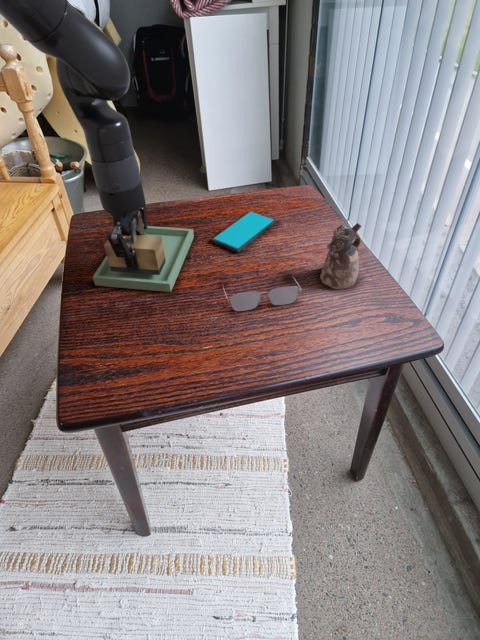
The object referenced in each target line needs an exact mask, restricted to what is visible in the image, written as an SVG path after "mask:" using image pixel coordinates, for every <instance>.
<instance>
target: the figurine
mask: <svg viewBox="0 0 480 640" xmlns="http://www.w3.org/2000/svg"><path fill="white" fill-rule="evenodd" d="M361 228H362V225H361V224H360V223H359V222H356V223H355V224H354V226H352V227H351V226H350V225H349V224H346V223H344V224H341V225H339V226H338V227H336V228H334V229H333V234H332V239H331V241H330V243H326V248H327V250H328V251H327V254H326V256H325V257H326V258H325V260H324V263H323V264H322V267H321V272H320V277H319V278H320V280H321V282H322V284H324V285H326V286H327V287H330V288H332V289H334V290H345V289H349V288H351V287H352V286H354V284H355V283H356V281H357V280H358V276H359V268H360V257H359V252H358V249H359V247H360V245H361V237H360V235H359V234H358V232H359V230H360V229H361ZM353 240H354V241H353Z"/></svg>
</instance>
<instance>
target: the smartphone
mask: <svg viewBox="0 0 480 640" xmlns="http://www.w3.org/2000/svg"><path fill="white" fill-rule="evenodd" d="M274 224H276V219H274V218H272V217H271V216H270V217H269V216H268V215H264V214H261V213H258V212H256V211H253V210H249V211H247V212H246V213H244V214H243V216H240V218H238V219H237V220H235V221H234V222H233V223H231V224H230V225H229V226H227V227H226V228H225V229H223V230H222V231H220V232H219V233H218V234H217V235H215V236H214V237H213V238H211V242H212V243H213V244H215V245H218V246H220V247H223V248H225V249H227V250H230V251H233V252H235V253H240V252H241V251H242V250H243V249H245V248H247V246H249V245H250V244H251V243H252V242H253V241H254V240H256V239H257V238H258V237H259V236H261V235H262V234H263V233H264V232H266V231H267V230H268V229H270V228H271V227H272V226H274Z"/></svg>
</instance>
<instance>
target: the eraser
mask: <svg viewBox="0 0 480 640" xmlns="http://www.w3.org/2000/svg"><path fill="white" fill-rule="evenodd" d="M125 237H126V238H131V236H125ZM136 239H137V241H136V242H135V243H134V245H135V253H136V257H137V262H138V266H139V268H138V269H137V270H128V269H127V267H126V263H125V259H124V258H123V257H116V255H115V253H114V251H113V249H112V247H111V245H110V243H109V241H108V239H107V240H106V241H105V243H104V245H103V248H104V251H105V255H106V256H107V259H108V262H109V266H110V269H111V271H116V272H128V273H140V274H152V275H160V273H161V271H162V269H163V266H164V264H165V262H166V260H165V254H164V248H163V243H162V237H161V236H148V235H136ZM127 245H128V247H129V248H130V245H129V244H128V243H127Z"/></svg>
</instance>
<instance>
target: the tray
mask: <svg viewBox="0 0 480 640" xmlns="http://www.w3.org/2000/svg"><path fill="white" fill-rule="evenodd" d="M144 231H145V235H148V236H161V237H162V243H163V248H164V254H165V260H166V262H165V264H164V266H163V269H162V271H161V273H160V275H152V274H140V273H128V272H116V271H111V269H110V266H109V262H108V259H107V255H106V256H105V257H104V259H103V260H102V261H101V264H100V265H99V266H98V268H97V269H96V271H95V273H94V274H93V276H92V280H93V283H94V286H97V287H108V288H121V289H130V290H132V289H133V290H141V291H154V292H162V293H172V291H173V288H174V286H175V283H176V280H177V278H178V276H179V274H180V271H181V270H182V266H183V264H184V262H185V259H186V257H187V255H188V253H189V250H190V247H191V245H192V244H193V241H194V238H195V234H194V229H193V228H184V227H182V228H181V227H170V226H169V227H168V226H167V227H166V226H153V225H147V230H144Z"/></svg>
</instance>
